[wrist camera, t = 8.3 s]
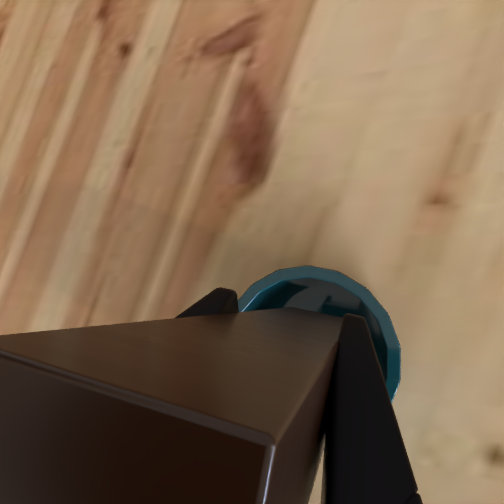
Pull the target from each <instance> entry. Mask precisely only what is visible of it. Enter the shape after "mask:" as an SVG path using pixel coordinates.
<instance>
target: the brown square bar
mask: <svg viewBox="0 0 504 504" xmlns="http://www.w3.org/2000/svg"><path fill="white" fill-rule="evenodd" d="M342 320H343V318H342V317H338V316H333V315H328V314H323V313H318V312H314V311H309V310H304V309H299V308H294V307H286V308H276V309H266V310H255V311H245V312H235V313H225V314H214V315H204V316H194V317H184V318H173V319H163V320H153V321H142V322H132V323H122V324H112V325H101V326H91V327H81V328H70V329H60V330H50V331H40V332H29V333H19V334H9V335H0V504H308V502H309V499H310V495H311V492H312V488H313V485H314V481H315V478H316V474H317V471H318V467H319V464H320V460H321V457H322V453H323V450H324V446H325V432H326V423H327V414H328V405H329V396H330V387H331V378H332V372H333V368H334V363H335V359H336V355H337V350H338V346H339V343H338V337H339V333H340V329H341V325H342Z"/></svg>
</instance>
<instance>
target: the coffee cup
mask: <svg viewBox="0 0 504 504" xmlns="http://www.w3.org/2000/svg"><path fill="white" fill-rule="evenodd" d="M286 307H294V308H299V309H304V310H309V311H314V312H318V313H323V314H328V315H333V316H338V317H342V318H343V317H344V315H345V314H346V313H349V314H353V315H358V316H362V317H364V318H365V320H366V322H367V325H368V329H369V332H370V335H371V338H372V342H373V345H374V348H375V351H376V355H377V358H378V361H379V364H380V368H381V371H382V374H383V377H384V381H385V384H386V387H387V390H388V394H389V397H390V400H391V403H392V401H393V399H394V396H395V394H396V391H397V389H398V386H399V384H400V380H401V348H400V344H399V341H398V338H397V335H396V333H395V330H394V327H393V325H392V322H391V319H390V316H389V315H388V313H387V312H386V310H385V309H384V308H383V307H382V306H381V304H380V303H379V302H378V301H377V300H376V298H375V297H374V296H373V295H372V294H371V292H370V291H369V290H368V289H366V287H364V286H363V285H361V284H359V283H358V282H356V281H354V280H352V279H351V278H349V277H347V276H346V275H344V274H342V273H341V272H338V271H335V270H330V269H325V268H320V267H315V266H310V265H309V266H307V265H306V266H299V267H293V268H286V269H279V270H277V271H275V272H273V273H271V274H269V275H268V276H266V277H264V278H262V279H260V280H259V281H257V282H255V283H253V284H252V285H251V286H250V287H249V288H248V289H247V291H246V292H245V293H244V294H243V295H242V296H241V298H240V299H239V300H238V308H239V312H245V311H255V310H266V309H276V308H286Z"/></svg>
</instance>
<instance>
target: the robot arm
mask: <svg viewBox="0 0 504 504" xmlns="http://www.w3.org/2000/svg"><path fill="white" fill-rule="evenodd" d="M235 312H239V308H238V300H237V294H236V292H235V291H234V290H231V289H226V288H221V287H220V288H216V289H215V290H213V291H212V292H210V293H209V294H208V295H206V296H205V297H203V298H202V299H201V300H199V301H198V302H196V303H195V304H193V305H192V306H191V307H189V308H188V309H186V310H185V311H184V312H182V313H181V314H179V315H178V316H177V317H175V318H184V317H194V316H204V315H214V314H225V313H235ZM338 343H339V346H338V350H337V355H336V359H335V363H334V368H333V372H332V378H331V387H330V396H329V405H328V414H327V423H326V432H325V446H324V461H323V476H322V491H321V504H423V503H422V500H421V497H420V495H419V494H418V493H417V491H418V488H417V484H416V481H415V478H414V475H413V471H412V468H411V465H410V462H409V459H408V455H407V452H406V449H405V446H404V442H403V439H402V436H401V433H400V429H399V426H398V423H397V420H396V416H395V413H394V410H393V407H392V403H391V400H390V397H389V394H388V390H387V387H386V384H385V381H384V377H383V374H382V371H381V368H380V364H379V361H378V358H377V355H376V351H375V348H374V345H373V342H372V338H371V335H370V332H369V329H368V325H367V322H366V320H365V318H364V317H362V316H358V315H353V314H349V313H346V314H345V315H344V317H343V320H342V325H341V329H340V333H339V337H338Z"/></svg>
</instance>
